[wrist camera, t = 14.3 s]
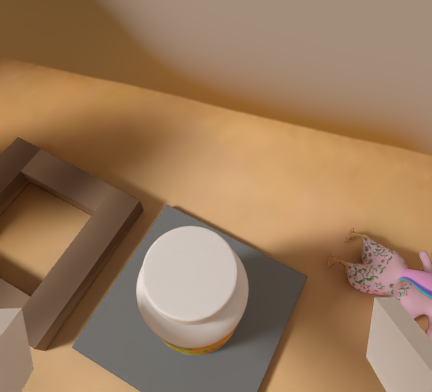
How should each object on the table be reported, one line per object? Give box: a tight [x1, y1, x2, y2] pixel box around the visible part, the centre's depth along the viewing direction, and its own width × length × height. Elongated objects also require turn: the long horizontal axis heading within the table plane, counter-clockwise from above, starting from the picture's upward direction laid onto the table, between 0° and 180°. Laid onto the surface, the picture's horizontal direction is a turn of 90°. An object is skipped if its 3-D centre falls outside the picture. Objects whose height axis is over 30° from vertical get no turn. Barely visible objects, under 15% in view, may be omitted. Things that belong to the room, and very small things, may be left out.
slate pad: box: [72, 205, 307, 392], centre depth 24 cm, size 11×11×1 cm
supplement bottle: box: [136, 226, 249, 356], centre depth 20 cm, size 5×5×10 cm
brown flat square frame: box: [0, 137, 143, 351], centre depth 26 cm, size 11×11×2 cm
